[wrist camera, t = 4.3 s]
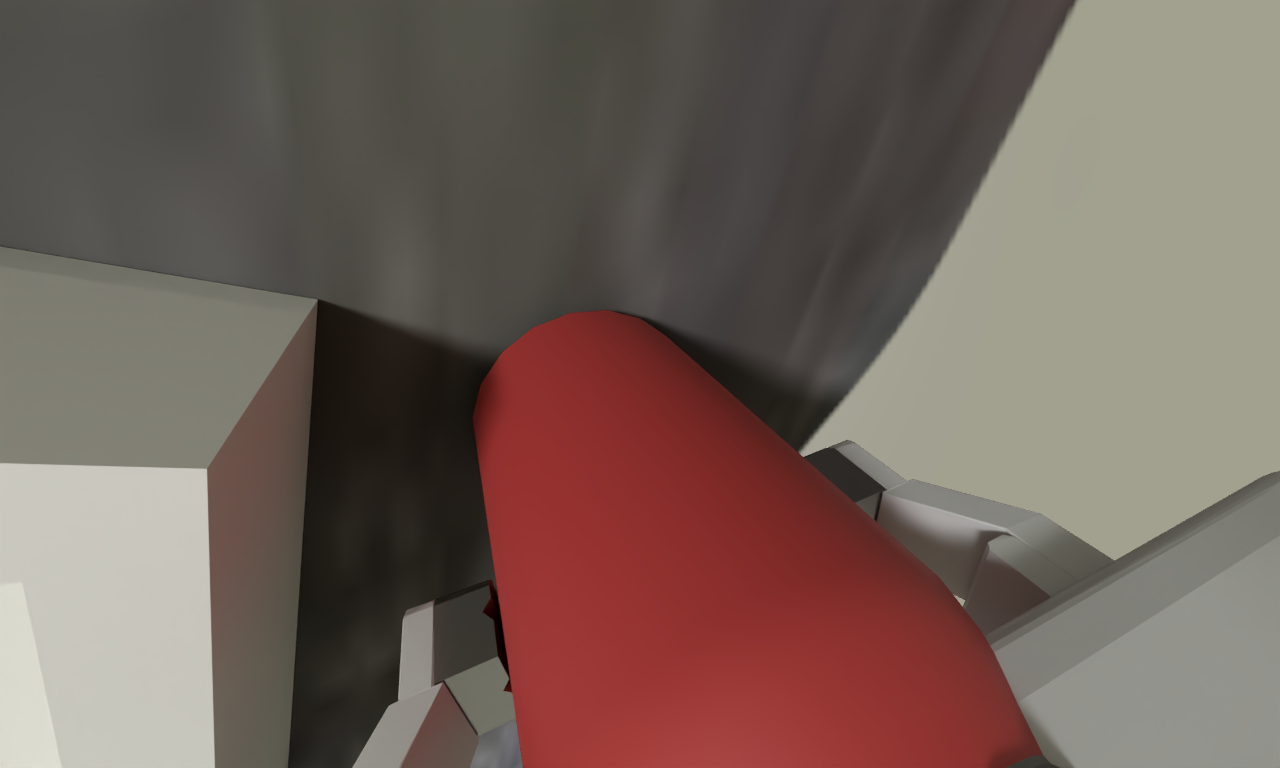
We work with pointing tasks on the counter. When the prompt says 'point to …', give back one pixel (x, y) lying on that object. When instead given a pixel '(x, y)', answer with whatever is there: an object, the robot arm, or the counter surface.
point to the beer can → (708, 581)
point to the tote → (149, 515)
